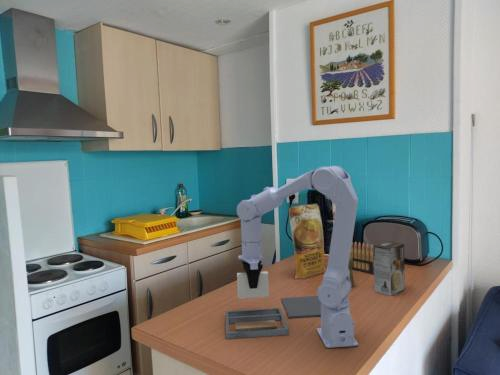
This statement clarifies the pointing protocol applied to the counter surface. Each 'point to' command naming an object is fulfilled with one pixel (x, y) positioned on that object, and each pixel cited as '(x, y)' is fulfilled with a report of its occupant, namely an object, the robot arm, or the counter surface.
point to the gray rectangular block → (257, 292)
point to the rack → (256, 316)
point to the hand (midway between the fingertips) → (253, 286)
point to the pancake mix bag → (307, 240)
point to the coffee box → (389, 268)
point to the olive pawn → (351, 272)
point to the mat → (302, 306)
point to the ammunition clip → (362, 258)
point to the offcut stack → (255, 325)
